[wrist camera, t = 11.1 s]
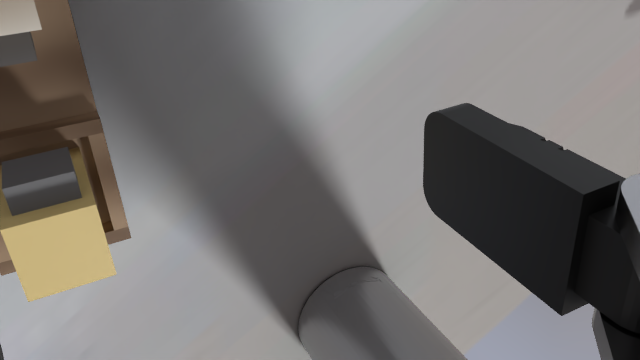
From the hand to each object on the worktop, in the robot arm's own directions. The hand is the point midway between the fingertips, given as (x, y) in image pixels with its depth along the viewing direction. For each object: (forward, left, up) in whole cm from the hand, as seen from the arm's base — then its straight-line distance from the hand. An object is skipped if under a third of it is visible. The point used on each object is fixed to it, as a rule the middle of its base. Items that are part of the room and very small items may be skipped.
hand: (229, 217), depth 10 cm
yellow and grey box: (-10, +4, -24) cm, 26 cm away
